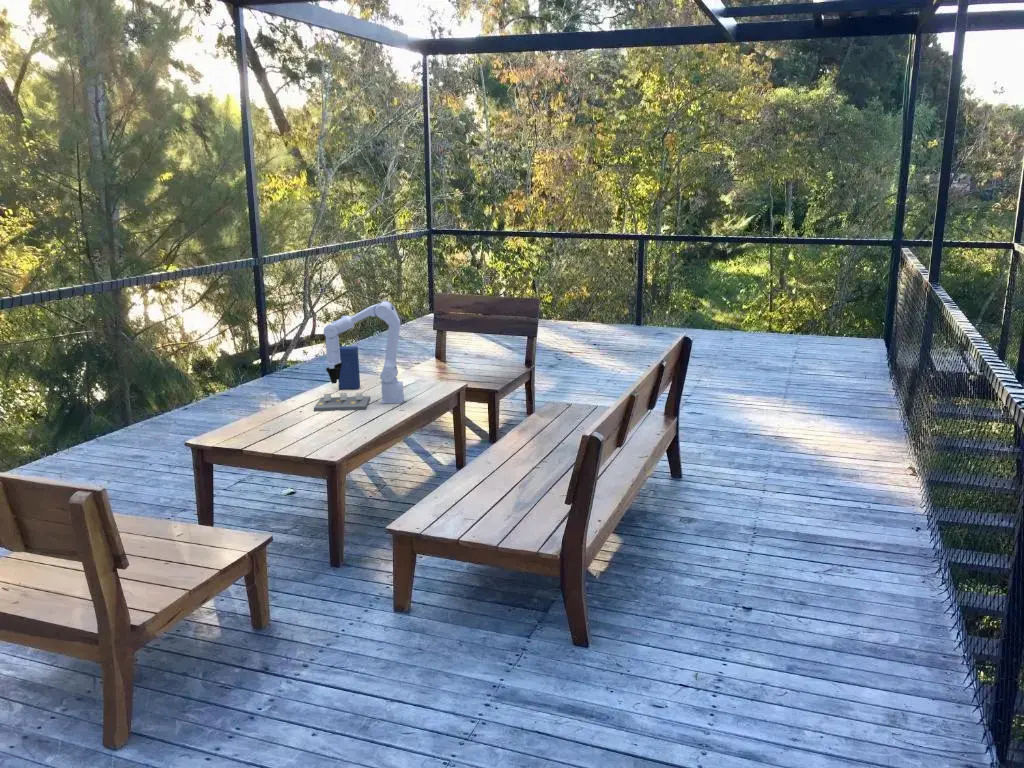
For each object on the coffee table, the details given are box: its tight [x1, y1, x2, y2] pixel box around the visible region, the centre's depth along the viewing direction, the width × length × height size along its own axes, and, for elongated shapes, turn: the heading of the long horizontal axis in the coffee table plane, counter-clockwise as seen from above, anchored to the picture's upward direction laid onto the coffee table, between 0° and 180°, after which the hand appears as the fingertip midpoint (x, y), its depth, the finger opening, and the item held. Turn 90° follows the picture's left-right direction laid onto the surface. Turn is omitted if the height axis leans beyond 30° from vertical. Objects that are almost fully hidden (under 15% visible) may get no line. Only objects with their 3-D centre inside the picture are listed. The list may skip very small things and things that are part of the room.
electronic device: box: [337, 345, 361, 390], centre depth 417 cm, size 10×5×20 cm, turn 84°
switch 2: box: [339, 392, 348, 400], centre depth 390 cm, size 2×3×3 cm
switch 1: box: [323, 393, 332, 401], centre depth 390 cm, size 2×3×3 cm
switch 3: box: [355, 392, 364, 400], centre depth 390 cm, size 2×3×3 cm
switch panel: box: [313, 395, 372, 412], centre depth 388 cm, size 22×18×2 cm
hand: (335, 381), depth 392 cm, fingers open, 7 cm apart
